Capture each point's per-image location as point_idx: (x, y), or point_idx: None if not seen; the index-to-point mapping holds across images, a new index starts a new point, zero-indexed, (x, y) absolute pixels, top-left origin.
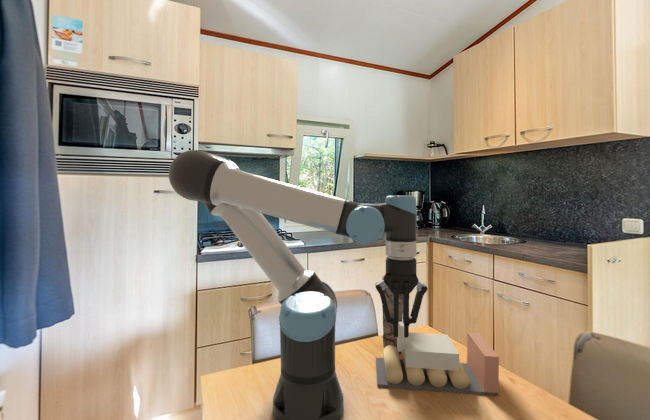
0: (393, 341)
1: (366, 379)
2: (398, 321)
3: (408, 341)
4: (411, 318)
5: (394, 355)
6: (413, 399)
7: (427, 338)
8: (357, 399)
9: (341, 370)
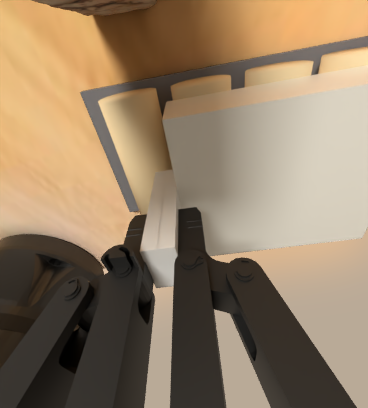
0: (117, 3)
1: (100, 193)
2: (153, 310)
3: (200, 206)
4: (232, 314)
5: (151, 173)
6: None
7: (294, 158)
8: (109, 243)
9: (27, 176)
